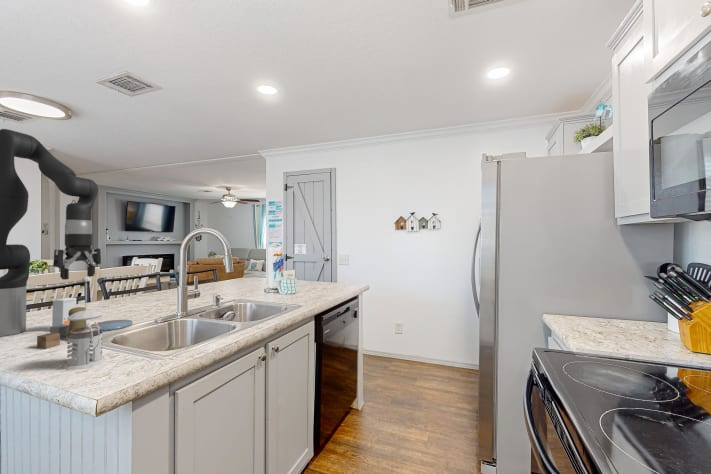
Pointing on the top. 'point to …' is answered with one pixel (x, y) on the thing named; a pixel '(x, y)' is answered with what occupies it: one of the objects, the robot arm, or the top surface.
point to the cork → (75, 323)
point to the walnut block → (48, 340)
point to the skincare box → (62, 310)
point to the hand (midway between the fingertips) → (78, 277)
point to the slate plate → (113, 325)
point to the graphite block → (60, 330)
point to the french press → (84, 340)
